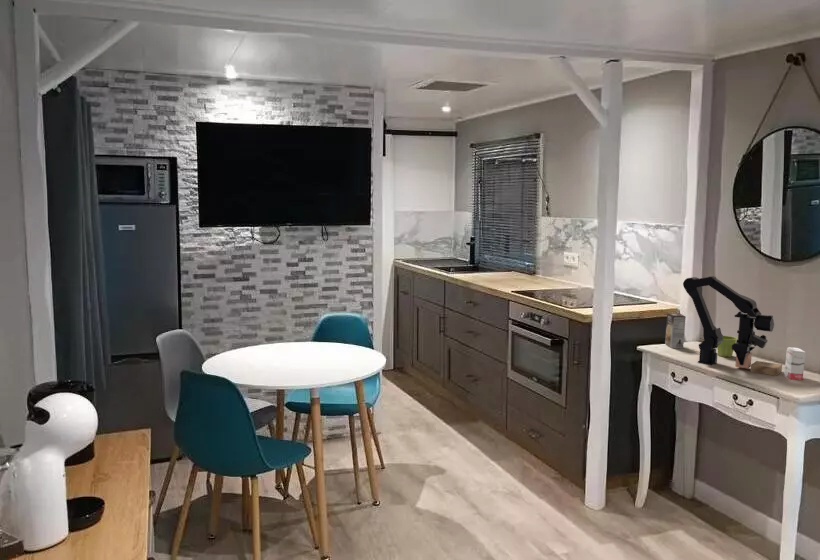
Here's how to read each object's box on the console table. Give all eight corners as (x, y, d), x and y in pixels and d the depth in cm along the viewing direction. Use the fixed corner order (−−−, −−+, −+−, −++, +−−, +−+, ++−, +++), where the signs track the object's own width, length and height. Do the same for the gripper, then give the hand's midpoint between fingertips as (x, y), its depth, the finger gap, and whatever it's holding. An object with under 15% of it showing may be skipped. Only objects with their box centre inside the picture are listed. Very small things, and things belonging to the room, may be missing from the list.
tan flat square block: (750, 371, 300) (751, 364, 300) (756, 367, 308) (756, 360, 308) (776, 375, 294) (777, 368, 294) (781, 371, 302) (782, 364, 302)
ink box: (803, 380, 287) (806, 351, 286) (790, 379, 288) (792, 350, 287) (796, 375, 296) (799, 347, 294) (783, 374, 297) (786, 346, 295)
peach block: (735, 366, 305) (736, 352, 305) (738, 364, 309) (739, 351, 309) (747, 368, 302) (749, 354, 302) (750, 366, 306) (751, 352, 306)
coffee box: (664, 344, 355) (666, 312, 353) (677, 344, 355) (679, 313, 353) (670, 348, 346) (673, 315, 344) (684, 348, 346) (686, 316, 344)
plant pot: (730, 359, 324) (731, 340, 324) (710, 355, 332) (711, 337, 331) (739, 356, 331) (740, 338, 330) (719, 352, 338) (720, 334, 337)
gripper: (761, 333, 292) (758, 371, 293) (771, 328, 306) (768, 363, 308) (732, 330, 298) (729, 366, 300) (743, 324, 313) (741, 359, 315)
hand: (743, 364), depth 306 cm, fingers closed on peach block, 5 cm apart
